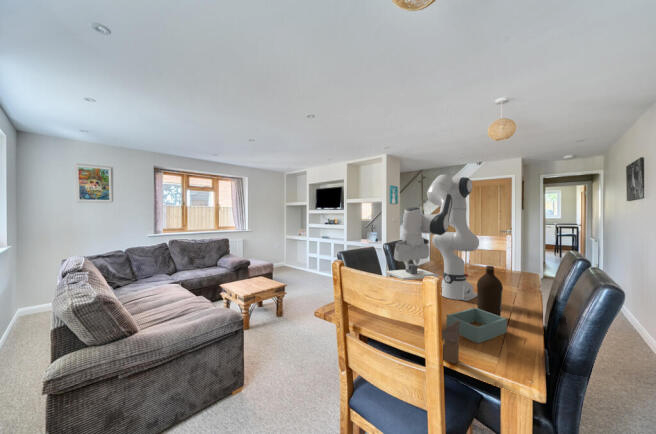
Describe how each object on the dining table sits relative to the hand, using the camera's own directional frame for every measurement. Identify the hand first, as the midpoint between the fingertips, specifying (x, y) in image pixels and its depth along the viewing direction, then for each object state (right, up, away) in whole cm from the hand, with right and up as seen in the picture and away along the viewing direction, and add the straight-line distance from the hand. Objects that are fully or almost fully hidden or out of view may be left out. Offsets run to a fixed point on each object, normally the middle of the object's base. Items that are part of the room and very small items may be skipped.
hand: (411, 268), depth 124 cm
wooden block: (0, -24, -33) cm, 41 cm away
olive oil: (+38, -24, 0) cm, 45 cm away
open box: (+23, -24, -14) cm, 36 cm away
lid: (0, -3, 0) cm, 3 cm away
